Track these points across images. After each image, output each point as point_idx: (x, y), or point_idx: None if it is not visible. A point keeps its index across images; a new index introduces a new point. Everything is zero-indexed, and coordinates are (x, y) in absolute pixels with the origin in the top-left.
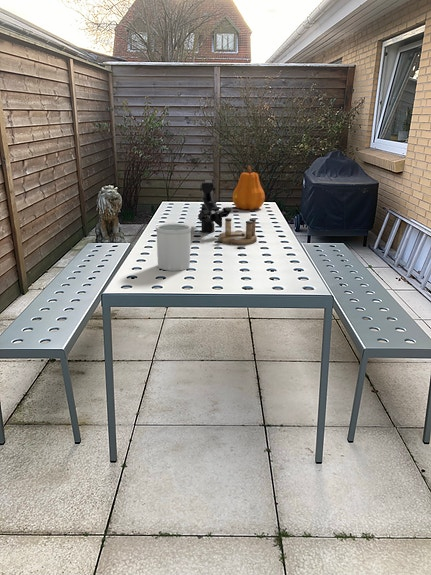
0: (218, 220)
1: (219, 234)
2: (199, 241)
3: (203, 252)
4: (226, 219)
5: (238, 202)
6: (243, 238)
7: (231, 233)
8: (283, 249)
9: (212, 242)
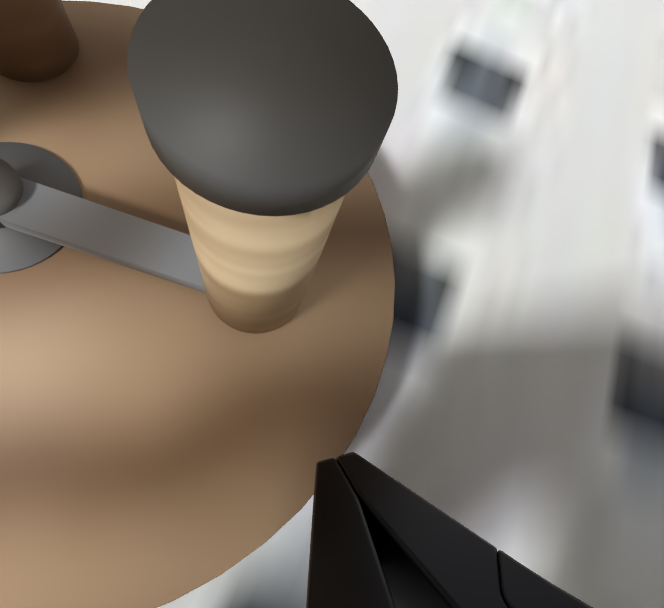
0: (472, 538)
1: (347, 439)
2: (614, 406)
3: (631, 30)
4: (374, 33)
5: None
6: (110, 71)
7: (98, 441)
8: None
9: (477, 301)
